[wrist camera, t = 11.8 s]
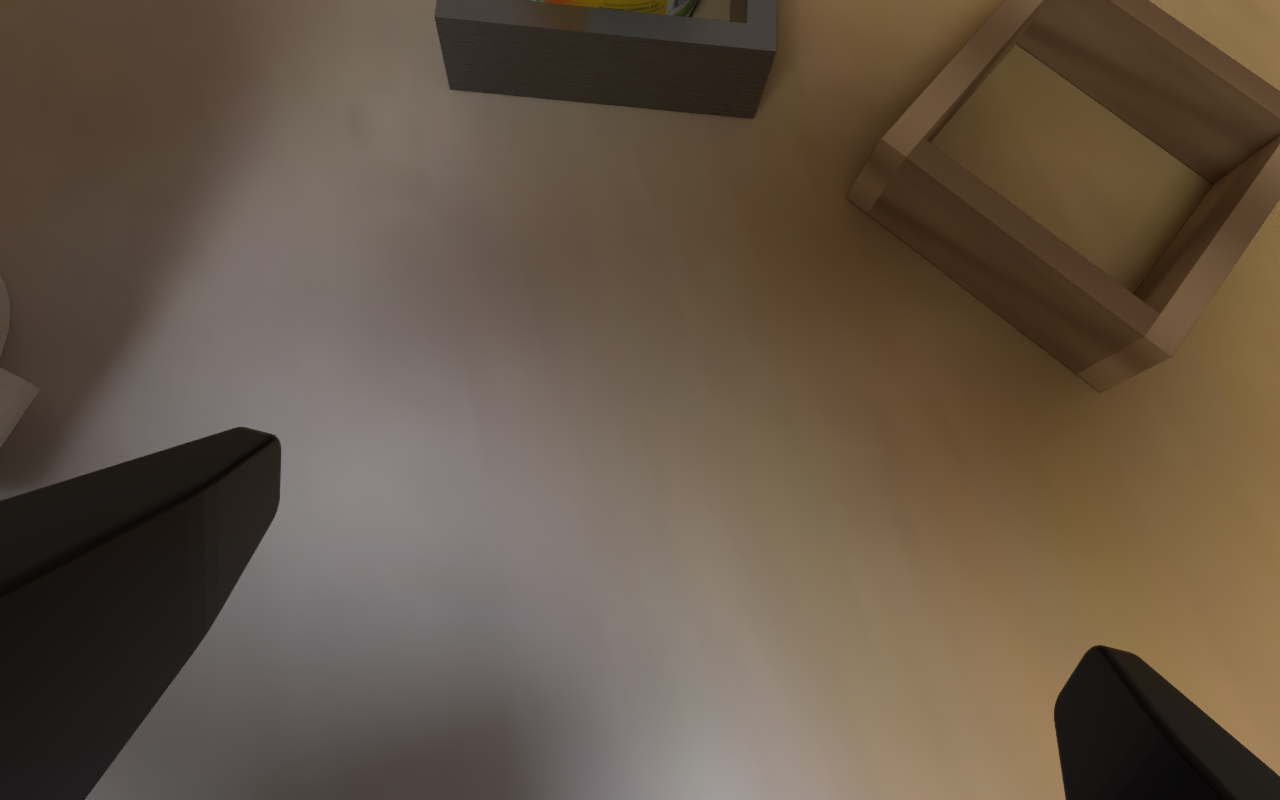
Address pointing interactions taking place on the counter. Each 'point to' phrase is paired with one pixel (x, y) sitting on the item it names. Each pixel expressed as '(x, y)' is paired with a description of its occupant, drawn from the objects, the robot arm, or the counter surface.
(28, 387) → the network device
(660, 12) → the supplement bottle
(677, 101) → the dock collar
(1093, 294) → the holder sleeve
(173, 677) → the robot arm
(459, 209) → the counter surface
